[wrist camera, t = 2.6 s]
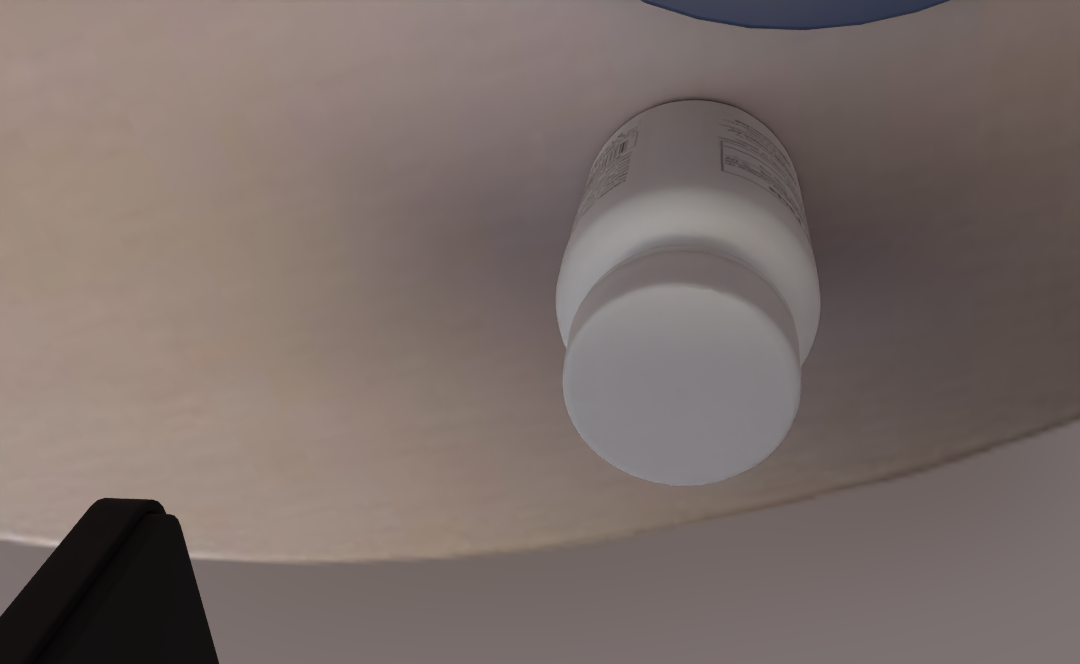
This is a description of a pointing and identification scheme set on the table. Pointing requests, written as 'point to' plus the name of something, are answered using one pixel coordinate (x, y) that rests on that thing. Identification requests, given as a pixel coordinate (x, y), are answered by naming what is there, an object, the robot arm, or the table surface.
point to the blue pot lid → (794, 11)
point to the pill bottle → (687, 296)
